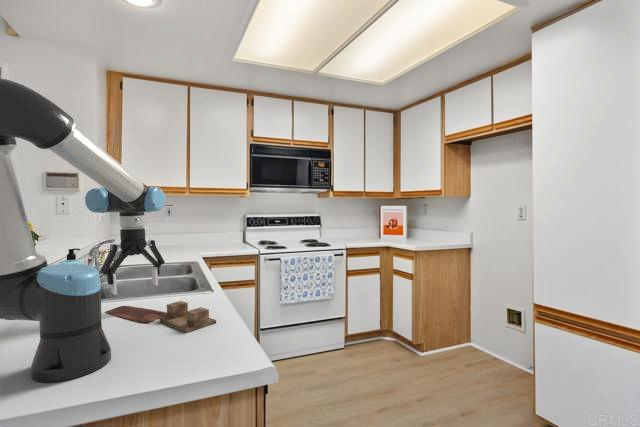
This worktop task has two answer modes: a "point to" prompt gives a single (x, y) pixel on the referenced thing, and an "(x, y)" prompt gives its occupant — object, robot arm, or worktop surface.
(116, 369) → the worktop surface
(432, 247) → the worktop surface
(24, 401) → the worktop surface
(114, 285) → the robot arm
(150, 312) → the wooden tablet
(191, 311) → the walnut stand
